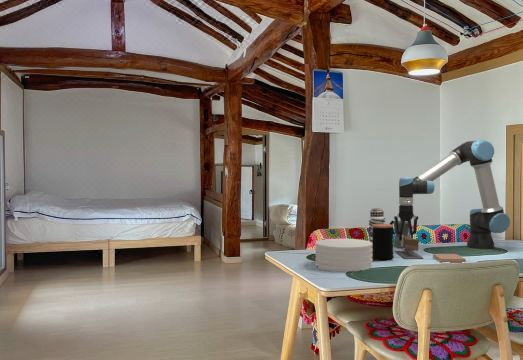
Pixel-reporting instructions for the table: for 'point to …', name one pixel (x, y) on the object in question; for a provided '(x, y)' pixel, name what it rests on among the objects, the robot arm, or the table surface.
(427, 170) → the robot arm
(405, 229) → the coffeepot
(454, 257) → the glazed tile
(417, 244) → the brown wooden block
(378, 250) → the coffee jar
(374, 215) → the decorative candle
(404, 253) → the rubber mat
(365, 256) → the plate stack
